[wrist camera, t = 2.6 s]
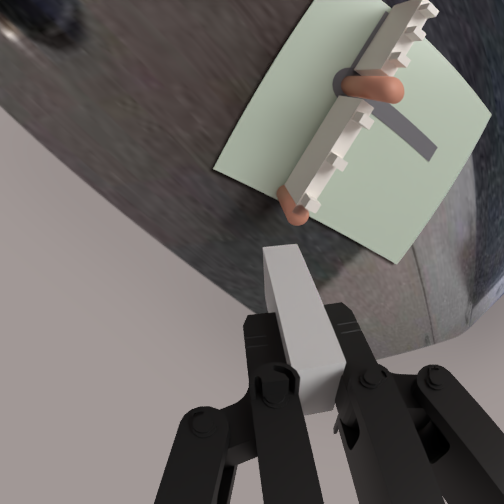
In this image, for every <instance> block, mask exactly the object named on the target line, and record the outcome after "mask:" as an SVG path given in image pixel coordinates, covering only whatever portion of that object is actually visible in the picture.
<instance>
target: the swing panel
mask: <svg viewBox="0 0 504 504" xmlns="http://www.w3.org/2000/svg"><path fill="white" fill-rule="evenodd" d="M373 109H374V107H372V106H371V105H370V104H368V103H367V102H366V101H364V100H363V99H359V98H353V97H346V96H338V98H337V99H336V101H335V103H334V104H333V106H332V108H331V109H330V111H329V112H328V114H327V116H326V117H325V119H324V121H323V122H322V124H321V125H320V127H319V129H318V130H317V132H316V134H315V135H314V137H313V138H312V140H311V142H310V143H309V145H308V147H307V148H306V150H305V152H304V153H303V155H302V156H301V158H300V160H299V161H298V163H297V165H296V166H295V168H294V170H293V171H292V173H291V174H290V176H289V178H288V179H287V181H286V183H285V184H284V185H282V186H280V187H279V188H278V190H277V194H276V195H277V198H278V200H279V202H280V204H281V207H282V209H283V211H284V213H285V215H286V217H287V219H288V221H289V222H290V223H291V224H292V225H296V226H298V225H302V224H304V223H305V222H306V221H307V220H308V218H309V211H311V212H313V213H315V214H316V212H317V211H318V209H319V208H320V206H321V204H320V203H319V201H318V200H317V198H318V197H319V195H320V194H321V192H322V190H323V189H324V187H325V186H326V184H327V183H328V181H329V180H330V178H331V176H332V175H333V173H334V172H335V170H336V169H339V170H340V171H342V172H343V171H344V169H345V168H346V166H347V164H348V162H346V161H345V160H343V158H344V156H345V154H346V153H347V151H348V150H349V148H350V146H351V145H352V143H353V142H354V140H355V138H356V137H357V135H358V134H359V132H360V130H361V129H362V127H363V128H366V129H368V130H369V129H370V128H371V126H372V125H373V123H374V120H373V119H371V118H370V117H369V116H370V114H371V113H372V111H373Z"/></svg>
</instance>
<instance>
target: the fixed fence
mask: <svg viewBox="0 0 504 504" xmlns="http://www.w3.org/2000/svg"><path fill="white" fill-rule="evenodd" d="M438 12H439V10H438V9H436V8H435V7H434V5H433V4H432V3H431V2H430V1H428V0H410V1H407V2H404V3H401V4H397V5H394V6H393V8H392V9H391V11H390V12H389V14H388V16H387V18H386V19H385V21H384V22H383V24H382V25H381V27H380V29H379V30H378V32H377V33H376V35H375V37H374V38H373V40H372V41H371V43H370V45H369V46H368V48H367V49H366V51H365V53H364V54H363V56H362V57H361V59H360V61H359V62H358V64H357V66H356V67H355V69H354V71H356V72H357V73H358V74H360V75H361V76H347V77H345V78H344V79H343V80H342V82H341V88H342V91H343V92H344V93H345V94H346V95H347V96H351V97H358V98H364V99H370V100H375V101H381V102H386V103H391V104H396V103H399V102H400V101H401V100H402V99H403V97H404V86H403V84H402V82H401V81H400V80H399V79H398V78H396V77H393V76H394V75H395V73H396V71H397V70H398V68H407V67H408V65H409V63H410V61H411V60H410V59H409V58H408V57H407V56H406V54H407V53H408V51H409V49H410V48H411V46H412V44H413V42H414V41H423V39H424V37H425V35H426V33H425V32H424V31H422V30H421V29H422V27H423V25H424V23H425V22H426V20H427V18H432V17H436V16H437V14H438Z"/></svg>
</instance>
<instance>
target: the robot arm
mask: <svg viewBox="0 0 504 504" xmlns="http://www.w3.org/2000/svg"><path fill="white" fill-rule="evenodd" d="M263 262H264V283H265V299H266V304H267V309H268V313H263V314H254V315H248V316H247V318H246V320H245V323H244V325H243V330H244V340H245V349H246V358H247V368H248V376H249V388H248V390H247V393H246V394H245V396H244V397H243V398H242V399H241V400H240V401H238V402H237V403H235V404H233V405H231V406H228V407H226V408H223V409H220V410H218V409H216V408H213V407H209V406H206V407H197V408H194V409H192V410H190V411H189V412H188V413H186V414H185V415H184V417H183V418H182V420H181V422H180V424H179V428H178V431H177V434H176V437H175V440H174V443H173V446H172V449H171V452H170V455H169V458H168V461H167V464H166V467H165V470H164V474H163V477H162V480H161V483H160V486H159V489H158V492H157V495H156V499H155V502H154V504H230V499H231V494H232V490H233V485H234V480H235V475H236V470H237V465H238V464H240V463H243V462H245V461H248V460H250V459H253V458H255V457H258V462H259V470H260V478H261V485H262V493H263V500H264V504H324V502H323V498H322V493H321V488H320V484H319V480H318V475H317V471H316V466H315V462H314V458H313V453H312V449H311V445H310V440H309V436H308V432H307V427H306V423H305V419H304V415H309V414H315V413H320V412H325V411H331V410H333V408H334V405H335V403H336V407H337V410H338V413H339V414H338V417H337V420H336V423H335V426H334V434H336V433H337V431H338V429H339V432H340V436H341V439H342V443H343V446H344V450H345V453H346V457H347V461H348V464H349V468H350V471H351V475H352V479H353V482H354V486H355V489H356V493H357V497H358V501H359V504H445V502H444V500H443V497H444V499H445V500H446V501H447V503H448V504H504V433H503V432H502V431H501V430H500V428H499V427H498V426H497V425H496V424H495V423H494V421H493V420H492V419H491V418H490V417H489V415H488V414H487V413H486V412H485V411H484V410H483V409H482V407H481V406H480V405H479V404H478V403H477V402H476V401H475V399H474V398H473V397H472V396H471V395H470V394H469V393H468V392H467V391H466V389H465V388H464V387H463V386H462V385H461V384H460V383H459V382H458V380H457V379H456V378H455V377H454V376H453V375H452V374H451V373H450V372H449V371H448V370H447V369H445V368H444V367H442V366H439V365H428V366H425V367H423V368H422V369H421V370H420V371H419V372H418V374H417V375H406V374H394V373H391V372H389V371H388V369H386V368H385V367H383V366H382V365H380V364H378V363H377V361H376V360H375V358H374V355H373V353H372V351H371V349H370V347H369V345H368V343H367V341H366V339H365V337H364V335H363V333H362V331H361V328H360V326H359V324H358V323H357V320H356V318H355V316H354V314H353V312H352V310H350V309H349V308H348V307H347V306H346V305H344V304H343V303H342V302H341V303H334V304H327V305H323V303H322V301H321V298H320V296H319V294H318V291H317V289H316V286H315V284H314V282H313V279H312V277H311V275H310V272H309V270H308V268H307V266H306V263H305V261H304V259H303V256H302V254H301V252H300V250H299V247H298V245H297V244H291V245H281V246H271V247H263ZM442 496H443V497H442Z"/></svg>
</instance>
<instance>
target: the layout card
mask: <svg viewBox="0 0 504 504" xmlns="http://www.w3.org/2000/svg"><path fill="white" fill-rule="evenodd" d="M390 11H391V8H390V7H389V6H388V5H386V4H385V3H384V2H383V1H381V0H314V1H313V2H312V4H311V5H310V7H309V8H308V9H307V11H306V12H305V14H304V15H303V17H302V18H301V20H300V21H299V23H298V24H297V26H296V27H295V29H294V30H293V32H292V33H291V35H290V36H289V38H288V40H287V41H286V43H285V44H284V46H283V47H282V49H281V50H280V52H279V54H278V55H277V57H276V58H275V60H274V62H273V63H272V65H271V67H270V68H269V70H268V71H267V73H266V75H265V76H264V78H263V80H262V81H261V83H260V85H259V86H258V88H257V90H256V92H255V93H254V95H253V97H252V98H251V100H250V102H249V104H248V105H247V107H246V109H245V111H244V112H243V114H242V116H241V118H240V119H239V121H238V123H237V125H236V127H235V128H234V130H233V132H232V134H231V136H230V137H229V139H228V141H227V143H226V145H225V147H224V149H223V150H222V152H221V154H220V156H219V158H218V160H217V162H216V164H215V166H214V167H213V169H214V170H216V171H219V172H221V173H223V174H225V175H227V176H229V177H231V178H234V179H236V180H238V181H240V182H242V183H244V184H246V185H248V186H250V187H252V188H254V189H256V190H258V191H260V192H262V193H264V194H266V195H268V196H271V197H273V198H275V199H277V200H278V198H277V195H276V194H277V190H278V188H279V187H280V186H282V185H284V184H285V183H286V181H287V179H288V178H289V176H290V174H291V173H292V171H293V170H294V168H295V166H296V165H297V163H298V161H299V160H300V158H301V156H302V155H303V153H304V152H305V150H306V148H307V147H308V145H309V143H310V142H311V140H312V138H313V137H314V135H315V134H316V132H317V130H318V129H319V127H320V125H321V124H322V122H323V121H324V119H325V117H326V116H327V114H328V112H329V111H330V109H331V108H332V106H333V104H334V103H335V101H336V99H337V98H338V96H346V97H351V96H347V95H346V94H345V93H344V92H343V91H342V88H341V82H342V80H343V79H344V78H345V77H347V76H361V75H360V74H358V73H357V72H356V71H354V69H355V67H356V66H357V64H358V62H359V61H360V59H361V57H362V56H363V54H364V53H365V51H366V49H367V48H368V46H369V45H370V43H371V41H372V40H373V38H374V37H375V35H376V33H377V32H378V30H379V29H380V27H381V25H382V24H383V22H384V21H385V19H386V18H387V16H388V14H389V12H390ZM406 56H407V57H408V58H409V59H410V60H411V61H410V63H409V65H408V67H407V68H398V70H397V71H396V73H395V75H394V76H393V77H396V78H398V79H399V80H400V81H401V82H402V84H403V86H404V97H403V99H402V100H401V101H400V102H399V103H396V104H391V103H386V102H381V101H375V100H370V99H364V98H359V99H363V100H364V101H366V102H367V103H368V104H370V105H371V106H372V107H374V109H373V111H372V113H371V114H370V116H369V117H370V118H371V119H373V120H374V123H373V125H372V126H371V128H370V129H369V130H368V129H366V128H363V127H362V129H361V130H360V132H359V134H358V135H357V137H356V138H355V140H354V142H353V143H352V145H351V146H350V148H349V150H348V151H347V153H346V154H345V156H344V158H343V160H345V161H346V162H348V164H347V166H346V168H345V169H344V171H343V172H342V171H340V170H339V169H336V170H335V172H334V173H333V175H332V176H331V178H330V180H329V181H328V183H327V184H326V186H325V187H324V189H323V190H322V192H321V194H320V195H319V197H318V198H317V200H318V201H319V203H320V204H321V206H320V208H319V209H318V211H317V212H316V214H315V213H313V212H311V211H309V216H310V217H312V218H314V219H315V220H317V221H319V222H321V223H323V224H325V225H327V226H329V227H330V228H332V229H334V230H336V231H338V232H340V233H342V234H343V235H345V236H347V237H349V238H351V239H353V240H354V241H356V242H358V243H360V244H362V245H363V246H365V247H367V248H369V249H370V250H372V251H374V252H376V253H378V254H379V255H381V256H383V257H385V258H386V259H388V260H390V261H391V262H393V263H395V264H398V262H399V261H400V260H401V258H402V257H403V256H404V254H405V253H406V252H407V250H408V249H409V248H410V246H411V245H412V244H413V242H414V241H415V239H416V238H417V237H418V235H419V234H420V232H421V231H422V230H423V228H424V227H425V225H426V224H427V222H428V221H429V220H430V218H431V217H432V215H433V214H434V212H435V211H436V209H437V208H438V206H439V205H440V203H441V202H442V200H443V199H444V197H445V195H446V194H447V192H448V191H449V189H450V188H451V186H452V184H453V183H454V181H455V180H456V178H457V176H458V175H459V173H460V171H461V170H462V168H463V166H464V165H465V163H466V161H467V159H468V158H469V156H470V154H471V152H472V151H473V149H474V147H475V145H476V143H477V142H478V140H479V138H480V136H481V134H482V132H483V130H484V129H485V127H486V125H487V123H488V121H489V119H490V117H491V113H490V112H489V110H488V109H487V108H486V106H485V105H484V104H483V102H482V101H481V100H480V98H479V97H478V96H477V95H476V93H475V92H474V91H473V90H472V88H471V87H470V86H469V85H468V83H467V82H466V81H465V80H464V79H463V78H462V76H461V75H460V74H459V73H458V72H457V71H456V70H455V68H454V67H453V66H452V65H451V64H450V63H449V62H448V61H447V60H446V59H445V58H444V56H443V55H442V54H441V53H440V52H439V51H438V50H437V49H436V48H435V47H434V46H433V45H432V44H431V43H430V42H429V41H428V40H427V39H426V38H425V37H424V39H423V41H414V42H413V44H412V46H411V48H410V49H409V51H408V53H407V54H406ZM353 98H358V97H353ZM278 201H279V200H278Z"/></svg>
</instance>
